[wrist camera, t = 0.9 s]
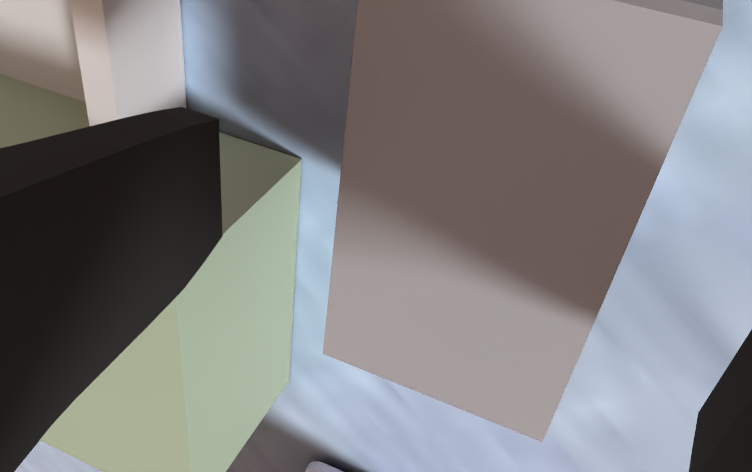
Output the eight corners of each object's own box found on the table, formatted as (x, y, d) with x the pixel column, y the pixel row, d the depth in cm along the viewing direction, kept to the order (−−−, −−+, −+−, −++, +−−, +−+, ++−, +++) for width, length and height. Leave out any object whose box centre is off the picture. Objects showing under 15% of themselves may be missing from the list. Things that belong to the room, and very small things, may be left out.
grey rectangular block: (588, 269, 15) (541, 442, 11) (418, 212, 16) (323, 353, 12) (723, -69, 11) (722, 26, 7) (480, -119, 12) (363, -59, 8)
